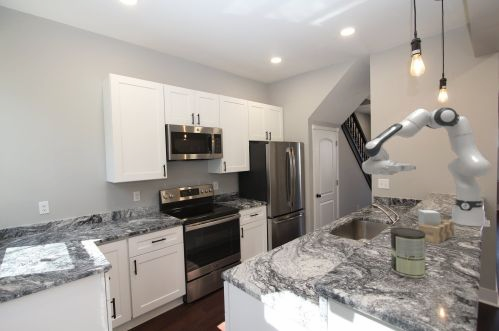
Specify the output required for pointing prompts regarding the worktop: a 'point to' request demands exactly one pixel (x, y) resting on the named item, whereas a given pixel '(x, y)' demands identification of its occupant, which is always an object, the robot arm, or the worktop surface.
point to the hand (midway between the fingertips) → (414, 167)
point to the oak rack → (438, 231)
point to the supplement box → (429, 217)
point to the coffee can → (408, 252)
